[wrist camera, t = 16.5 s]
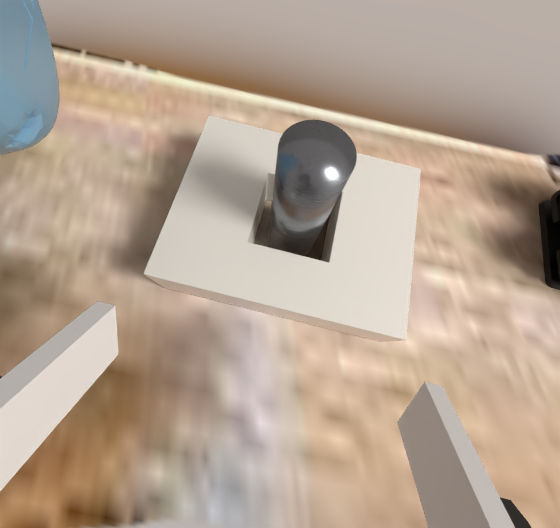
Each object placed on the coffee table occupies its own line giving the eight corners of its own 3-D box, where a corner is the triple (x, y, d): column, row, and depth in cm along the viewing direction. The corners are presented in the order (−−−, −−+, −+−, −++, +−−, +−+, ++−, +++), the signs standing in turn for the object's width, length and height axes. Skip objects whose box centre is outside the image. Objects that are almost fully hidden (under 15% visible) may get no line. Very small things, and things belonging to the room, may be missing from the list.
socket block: (162, 287, 22) (143, 274, 18) (216, 149, 26) (209, 115, 22) (380, 341, 22) (406, 340, 18) (397, 195, 26) (420, 169, 23)
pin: (263, 252, 23) (269, 174, 13) (274, 212, 25) (287, 111, 14) (308, 264, 24) (350, 195, 13) (317, 223, 25) (361, 130, 14)
